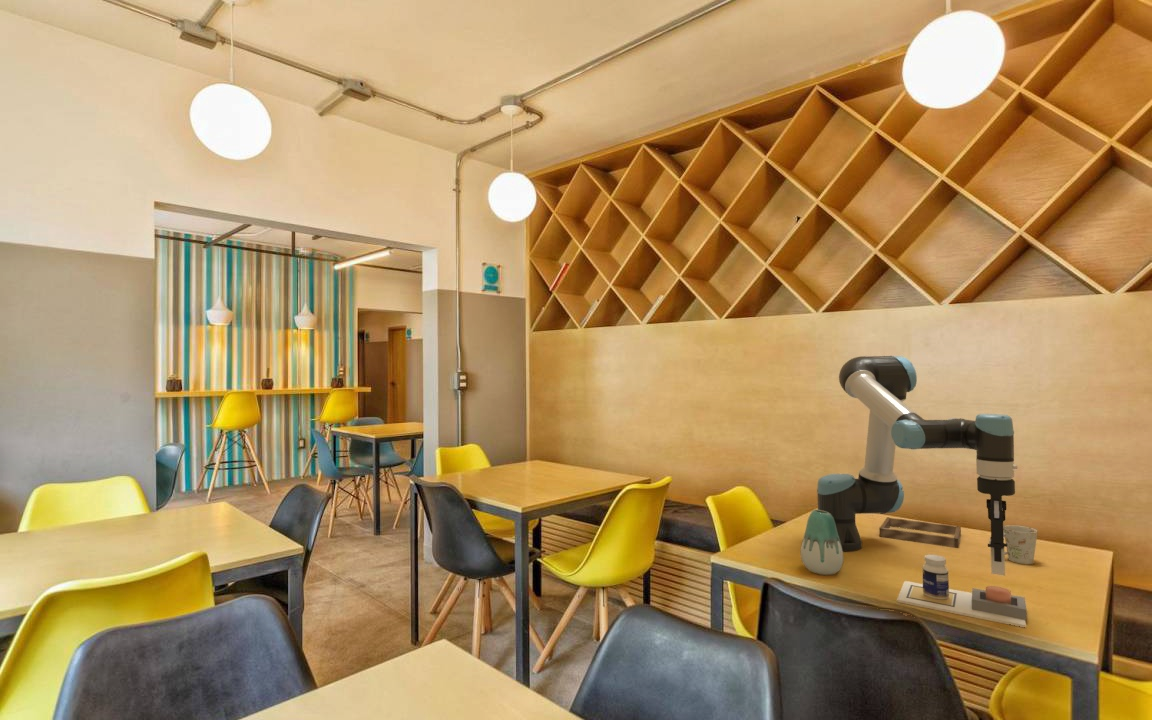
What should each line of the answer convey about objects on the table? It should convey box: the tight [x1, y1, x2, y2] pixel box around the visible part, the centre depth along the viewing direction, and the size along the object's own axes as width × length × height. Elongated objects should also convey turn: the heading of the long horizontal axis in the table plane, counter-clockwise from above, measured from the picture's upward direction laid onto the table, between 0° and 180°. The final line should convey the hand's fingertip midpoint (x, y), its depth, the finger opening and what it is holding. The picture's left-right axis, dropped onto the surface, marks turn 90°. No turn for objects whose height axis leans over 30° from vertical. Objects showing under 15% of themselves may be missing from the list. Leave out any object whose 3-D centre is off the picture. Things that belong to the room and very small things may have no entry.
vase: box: [800, 509, 844, 576], centre depth 170 cm, size 12×12×18 cm
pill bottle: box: [922, 554, 950, 600], centre depth 149 cm, size 6×6×10 cm
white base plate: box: [896, 580, 1028, 629], centre depth 146 cm, size 26×16×3 cm, turn 54°
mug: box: [988, 524, 1038, 565], centre depth 178 cm, size 8×13×10 cm, turn 78°
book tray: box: [878, 517, 962, 549], centre depth 205 cm, size 23×18×3 cm
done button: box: [985, 585, 1012, 605], centre depth 141 cm, size 5×5×3 cm
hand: (998, 573), depth 141 cm, fingers closed
